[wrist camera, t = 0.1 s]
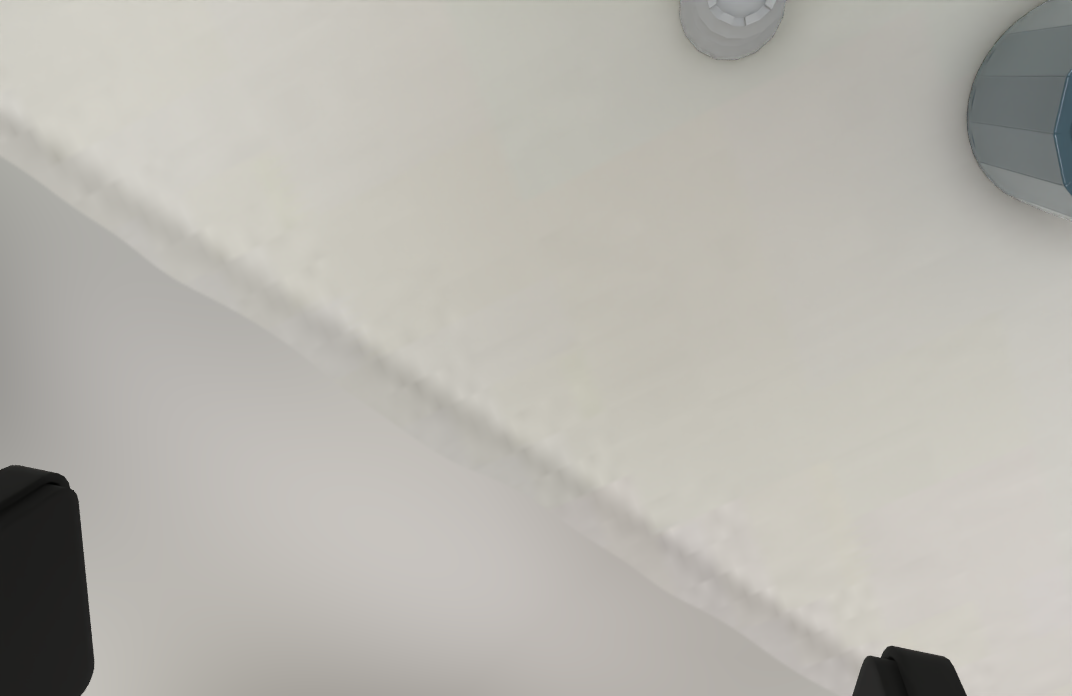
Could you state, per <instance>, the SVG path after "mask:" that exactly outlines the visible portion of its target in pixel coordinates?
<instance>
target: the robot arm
mask: <svg viewBox="0 0 1072 696" xmlns="http://www.w3.org/2000/svg"><path fill="white" fill-rule="evenodd" d="M93 670H94V654H93V644H92V633H91V624H90V614H89V603H88V593H87V583H86V573H85V562H84V552H83V542H82V532H81V522H80V512H79V501H78V498H77V494H76V493H75V492H74V490H72V489H70V486H69V482H68V481H67V480H66V478H65V477H64V476H62V475H60V474H58V473H53V472H48V471H44V470H39V469H34V468H29V467H24V466H20V465H15V466H14V465H12V466H9V467H6V468H4V469H1V470H0V696H81V694H82V693H83V692H84V691H85V689H86V687H87V686H88V684H89V682H90V680H91V677H92V674H93ZM852 696H967V695H966V693H965V691H964V688H963V686H962V684H961V682H960V680H959V677H958V675H957V673H956V671H955V669H954V666H953V665H952V663H951V662H950V660H949V659H947V658H946V657H943V656H939V655H934V654H929V653H924V652H919V651H914V650H910V649H905V648H900V647H895V646H889V647H887V648H886V649H885V651H884V652H883V654H882V656H881V658H879V657H874V656H867V657H866V658H865V660H864V662H863V664H862V667H861V670H860V673H859V676H858V679H857V683H856V686H855V689H854V692H853V695H852Z"/></svg>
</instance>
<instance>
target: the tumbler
mask: <svg viewBox="0 0 1072 696" xmlns="http://www.w3.org/2000/svg"><path fill="white" fill-rule="evenodd" d="M967 128H968V135H969V141H970V144H971V147H972V151H973V154H974V156H975V158H976V160H977V162H978V164H979V166H980V167H981V169H982V170H983V172H984V173H985V174H986V176H987V177H988V178H989V179H990V180H991V181H992V182H993V183H994V184H995V185H996V186H997V187H998V188H1000V189H1001V190H1002V191H1003V192H1004V193H1005V194H1007V195H1009V196H1011V197H1013V198H1015V199H1017V200H1019V201H1022V202H1024V203H1026V204H1028V205H1030V206H1033V207H1035V208H1037V209H1039V210H1041V211H1044V212H1047V213H1049V214H1052V215H1055V216H1057V217H1060V218H1063V219H1065V220H1068V221H1071V222H1072V0H1048V1H1046V2H1044V3H1043V4H1041V5H1039V6H1038V7H1036V8H1034V9H1033V10H1031V11H1030V12H1028V13H1027V14H1026V15H1024V16H1023V17H1022V18H1020V19H1019V20H1018V21H1017V22H1016V23H1014V24H1013V25H1012V26H1011V27H1010V28H1009V29H1008V30H1007V31H1006V32H1005V33H1004V34H1003V35H1002V36H1001V38H1000V39H999V40H998V41H997V42H996V43H995V45H994V46H993V47H992V49H991V50H990V52H989V53H988V55H987V56H986V58H985V59H984V61H983V63H982V65H981V67H980V69H979V71H978V73H977V76H976V78H975V81H974V83H973V86H972V90H971V94H970V97H969V104H968V111H967Z"/></svg>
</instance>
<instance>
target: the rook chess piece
mask: <svg viewBox="0 0 1072 696" xmlns="http://www.w3.org/2000/svg"><path fill="white" fill-rule="evenodd" d="M786 1H787V0H680V13H679V16H680V20H681V23H682V26H683V29H684V33H685V36H686V37H687V38H688V39H689V40H690V42H691V43H692V44H693V45H694V46H695V47H696V49H697V50H698V51H700V52H702V53H704V54H706V55H708V56H710V57H713V58H715V59H726V60H737V59H740V58H742V57H745V56H747V55H750V54H752V53H755V52H757V51H758V50H759V49H760V48H761V47H762V46H763V45H764V44H766V43H767V42H768V41H769V40H770V39H771V38H772V37H773V35H774V33H775V32H776V30H777V28H778V26H779V24H780V22H781V20H782V18H783V15H784V8H785V2H786Z"/></svg>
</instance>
